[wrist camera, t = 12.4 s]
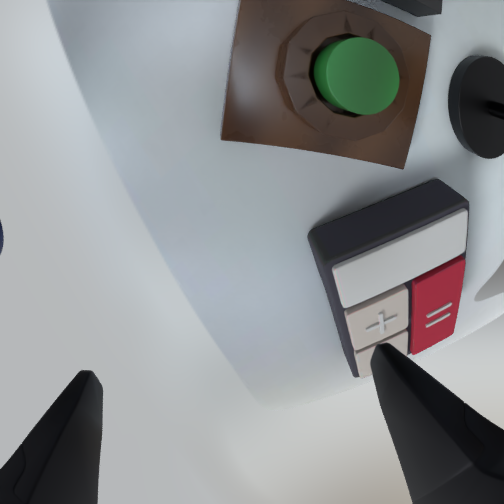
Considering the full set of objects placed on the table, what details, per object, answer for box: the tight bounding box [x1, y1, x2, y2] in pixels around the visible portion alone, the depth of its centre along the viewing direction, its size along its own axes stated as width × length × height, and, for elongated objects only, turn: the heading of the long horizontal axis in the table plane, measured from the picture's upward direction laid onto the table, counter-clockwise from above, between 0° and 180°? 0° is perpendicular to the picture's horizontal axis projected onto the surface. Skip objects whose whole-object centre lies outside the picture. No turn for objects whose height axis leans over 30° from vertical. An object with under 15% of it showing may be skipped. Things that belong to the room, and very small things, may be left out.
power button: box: [314, 37, 399, 115], centre depth 12 cm, size 4×4×2 cm
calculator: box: [308, 179, 469, 379], centre depth 22 cm, size 11×4×15 cm
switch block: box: [220, 0, 431, 169], centre depth 14 cm, size 11×9×4 cm
